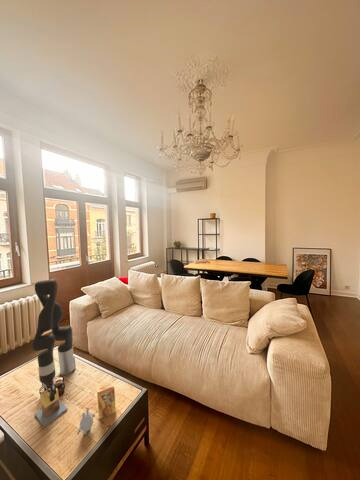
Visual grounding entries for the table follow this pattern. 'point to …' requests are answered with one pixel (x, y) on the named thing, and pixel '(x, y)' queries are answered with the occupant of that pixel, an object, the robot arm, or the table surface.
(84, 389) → the table surface
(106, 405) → the candy box
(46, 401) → the mustard brick
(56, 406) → the walnut brick
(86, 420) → the toy figure
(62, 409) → the slate baseplate
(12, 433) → the table surface
